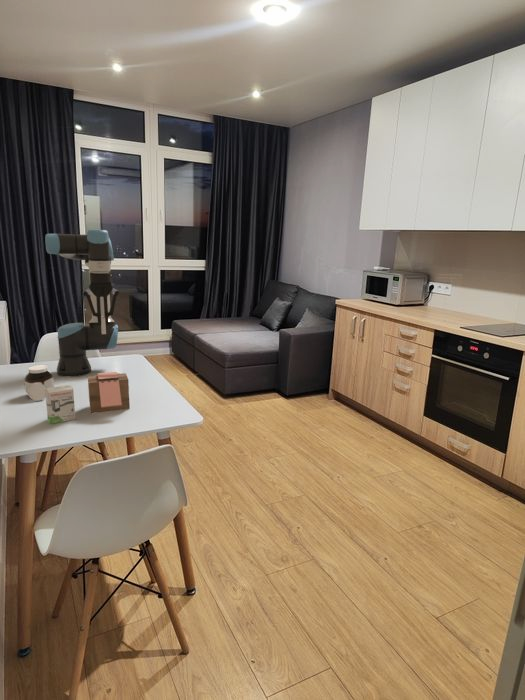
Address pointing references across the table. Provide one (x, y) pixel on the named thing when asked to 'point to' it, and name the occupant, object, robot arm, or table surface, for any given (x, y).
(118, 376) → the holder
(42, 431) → the table surface
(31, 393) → the spread jar
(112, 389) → the stub
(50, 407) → the ink box
